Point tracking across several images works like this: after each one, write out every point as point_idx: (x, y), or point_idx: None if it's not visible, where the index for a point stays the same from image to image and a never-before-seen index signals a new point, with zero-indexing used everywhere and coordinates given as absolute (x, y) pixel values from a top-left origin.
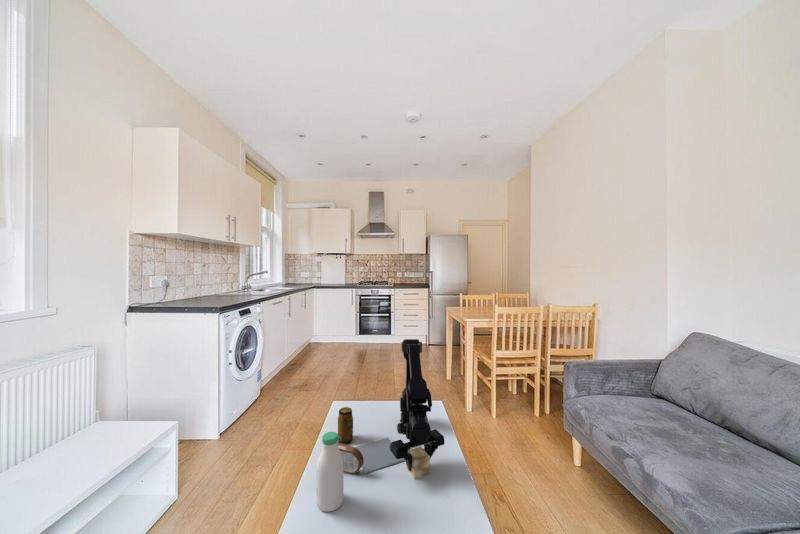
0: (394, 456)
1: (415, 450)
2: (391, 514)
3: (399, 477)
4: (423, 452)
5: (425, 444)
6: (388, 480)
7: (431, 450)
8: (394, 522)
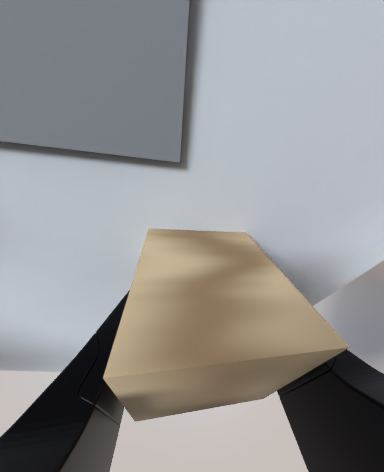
0: (88, 15)
1: (234, 377)
2: (26, 356)
3: (86, 267)
4: (266, 388)
5: (380, 457)
6: (10, 263)
7: (303, 456)
8: (35, 366)
